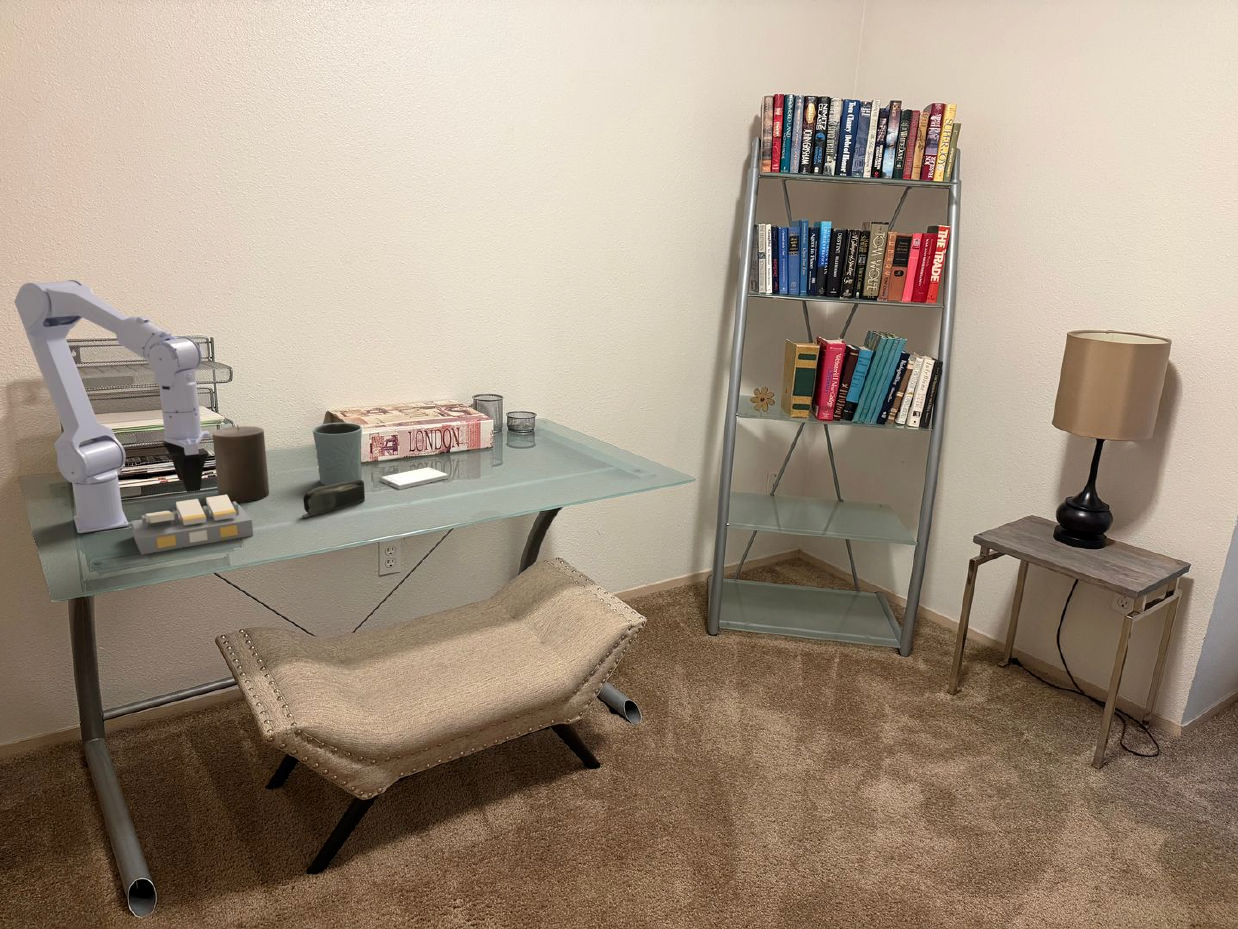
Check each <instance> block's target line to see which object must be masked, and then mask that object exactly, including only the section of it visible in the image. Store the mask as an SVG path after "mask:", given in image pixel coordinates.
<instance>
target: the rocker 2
mask: <svg viewBox="0 0 1238 929" xmlns="http://www.w3.org/2000/svg"><path fill="white" fill-rule="evenodd" d="M175 505H176V506H175V507H176V511H177V512H178V514H179V515H180V517H181V520H182V522H183V524H184V526H185V525H191V524H197V523H204V522H206V516H205V514H204V512H203V506H201V503H200V501H199V499H198V498H194V499H187V500H179V501H175Z"/></svg>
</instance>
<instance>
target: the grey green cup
mask: <svg viewBox="0 0 1238 929" xmlns="http://www.w3.org/2000/svg"><path fill="white" fill-rule="evenodd" d="M362 433H363V427H362V426H361V425H360V424H357V423H353V422H330V423H324V424H319V425H317V426H315V427H313V429H312V434H313V439H314V444H315V450H316V459H317V465H318V476H319V481H320V484H321V485H323V486H328V485H333V484H338V483H342V482H348V481H353V480H362V465H361V462H362V438H363V437H362V435H363V434H362Z"/></svg>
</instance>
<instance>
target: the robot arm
mask: <svg viewBox="0 0 1238 929" xmlns="http://www.w3.org/2000/svg"><path fill="white" fill-rule="evenodd" d="M18 289H19V290H18V292H17V294H16V296H15V299H14V305H15V308H16V310H17V312H18V315H19V318H20V320H21V323H22V325H23V327H24V331H25V333H26V334H25V335H26V337H27V340H28V342H29V346H30V347H31V350H32V352H33V355H34V358H35V360H36V363H37V366H38V368H39V370H40V373H41V375H42V378H43V381H44V384H45V385H46V388H47V390H48V394H49V396H50V398H51V400H52V404H53V406H54V410H55V412H56V414H57V416H58V418H59V422H60V424H61V427H62V430H63V432H62V433H61V435H60V436H59V437H58V438H57V440H56V441H55V442H54V445H53V446H54V448H55V451H56V457H57V459H56V461H57V467H58V470H59V472H60V473H61V475H62V476H63V477H64V478H65V479H66V480H67V482H68V483H72V491H73V497H74V504H75V510H76V515H74V516H73V519H74V520H73V521H74V524H75V528H76V530H77V533H78V534H84V533H85V534H86V533H92V532H97V531H103V530H104V531H105V530H110V529H111V530H112V529H116V528H122V527H123V528H124V527H128V526H129V522H128V520H127V517H126V515H125V512H124V511H123V505H122V498H121V490H120V484H119V477H118V475H121V473H122V472H121V469H122V468H123V467H124V466H125V463H126V461H127V460H126V458H127V454H126V451H125V448H124V447H123V446H124V445H122V444H121V442H120V441H119V440H118V439H117V437H116V436H115V433H114V430H113V429H112V428H110V427H108V426H106V425H104V424H102V423H100V422H99V421H98V420H97V417H96V414H95V411H94V409H93V406H92V404H91V401H90V398H89V397H88V394H87V392H86V391H87V390H86V388H85V385H84V383H83V381H82V377H81V375H80V373H79V370H78V366H77V365H76V362H75V360H74V357H73V353H72V352H71V349H70V347H69V343H68V342H67V336H68V334H69V332H70V330H72V329H73V328H74V327H76V325H78V323H79V322H80V321H81V320H82V319H85V320H87V321H89V322H91V323H93V324H95V325H96V326H99V327H101V328H103V329H105V330H107V331H108V332H110V333H113V334H114V335H116V340H117V343H118V344H119V345H120V346H122V347H124V348H125V349H127V350H129V351H130V352H133V354H135V355H137V356H139V357H141V358H142V359H144V360H146V361H147V364H148V366H149V368H150V370H151V371H152V372H153V374H154V380H155V382H156V384H157V385H158V387H159V396H160V403H161V404H160V405H161V411H162V421H163V428H164V435H163V440H164V441H163V442H162V444H163V446H164V447H165V449H166V450H167V452H168V454H169V457H170V458H171V461H172V463H173V467H174V470H175V473H176V476H177V479H178V481H180V482H182V484H183V486H184V489H185V491H186V492H187V493H191V492H193V493H194V492H199V491H201V487H202V481H203V473H204V468H205V464H206V461H207V460H208V457H209V451H208V450H201V451H199V444H200V442H201V441H202V440H203V439H204V438H209V437H210V432H209V431H208V430H202V424H201V423H202V421H201V412H200V405H199V404H200V403H199V394H198V386H197V376H196V369H198V368H199V367H200V365H201V362H202V357H203V356H202V351H201V349H200V346H199V345H198V343H196V342H195V341H194V340H193V339H192V338H191V337H189V336H180V337H177V336H176V335H175V336H174V335H172V332H171V331H168V330H163V329H162V328H160V327H158V326H157V325H155V324H153V323H152V322H150V318H149V317H146V316H145V315H142V316H138V315H133V316H130V317H129V316H126V315H125V314H124V313H123V312H121V311H120V310H118V309H117V308H115V307H113V306H112V305H110V304H109V303H107V302H106V301H105V300H103V299H102V298H100V297H98V296H97V295H96V294H95V293H94V291H93V289H92V287H91V286H88V285H85V284H84V283H83V282H81V281H79V280H77V279H69V280H66V281H65V280H64V281H48V282H26V283H24V284H22V285H21V286H20V287H19V288H18ZM85 441H90V442H87V443H83V444H81V443H82V442H85Z"/></svg>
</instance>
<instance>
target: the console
mask: <svg viewBox="0 0 1238 929" xmlns="http://www.w3.org/2000/svg"><path fill="white" fill-rule="evenodd" d="M232 505H233V507H234V509H235V511H236V517H235V518H229V519H222V520H216V521H215V520H214V518H213V516H212V513H211V511H210V509H209V507H208V505H203V506H202V509H203V512H204V514H205V516H206V522H204V523H197V524H191V525H185V526H184V524H183V522H182V520H181V517H180V515H179V512H178V510H177V509H176V510H172V513H173V514H174V520H168V521H161V522H155V523H150V522H149V521H148V520H146V514H142V515H141V519H135V520H134V519H133V520H131V527H132V528H131V529H132V536H133V539H134V541H135V544H136V546H137V549H138V551H139V553H140V555H147V554H154V552H155V553H160V552H165V551H171V550H177V548H178V549H183V547H184V548H190V547H194V546H201V545H205V544H207V545H208V544H210V543H218V542H223V541H228V540H235V539H241V538H242V539H243V538H247V537H252V536H254V531H253V529H254V528H253V520H252V518H251V517H250V516H249V514H247V512H246V511H245V510H244V509H243V508H242V506H241V505H240V504H238V502H236V501H235V502H232Z"/></svg>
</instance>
